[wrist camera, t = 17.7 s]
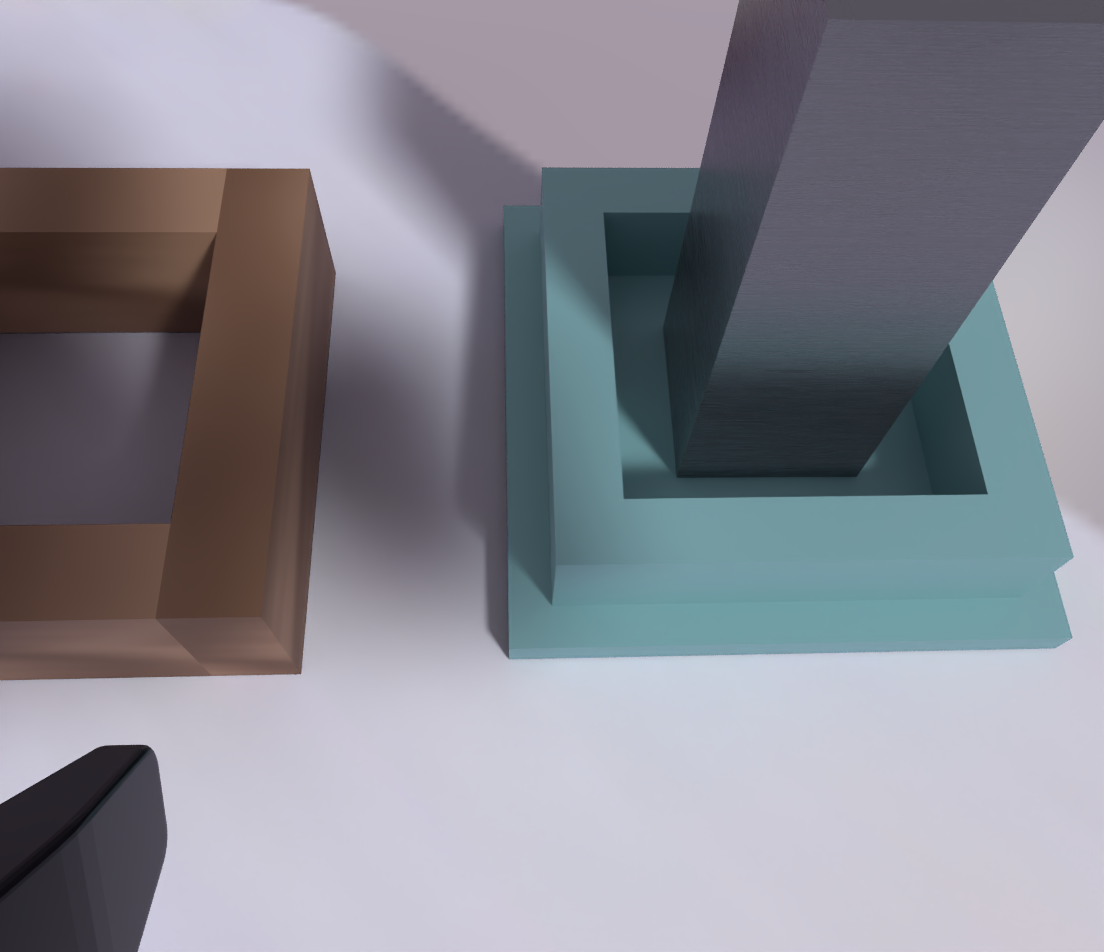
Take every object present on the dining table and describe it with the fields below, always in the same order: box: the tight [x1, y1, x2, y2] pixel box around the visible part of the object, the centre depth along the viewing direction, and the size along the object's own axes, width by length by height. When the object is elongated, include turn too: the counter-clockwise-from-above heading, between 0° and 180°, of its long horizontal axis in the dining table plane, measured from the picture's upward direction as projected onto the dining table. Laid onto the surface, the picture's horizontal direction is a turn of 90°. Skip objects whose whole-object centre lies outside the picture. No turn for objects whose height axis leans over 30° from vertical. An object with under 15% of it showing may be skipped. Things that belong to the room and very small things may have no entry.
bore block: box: [0, 168, 336, 680], centre depth 23 cm, size 12×12×4 cm
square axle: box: [663, 0, 1104, 478], centre depth 19 cm, size 4×4×13 cm
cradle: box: [504, 168, 1074, 659], centre depth 25 cm, size 13×13×3 cm
